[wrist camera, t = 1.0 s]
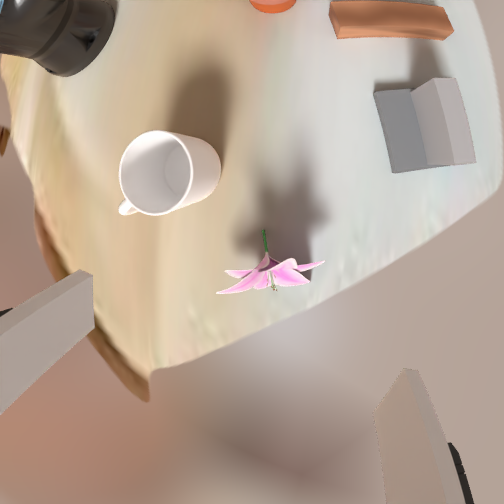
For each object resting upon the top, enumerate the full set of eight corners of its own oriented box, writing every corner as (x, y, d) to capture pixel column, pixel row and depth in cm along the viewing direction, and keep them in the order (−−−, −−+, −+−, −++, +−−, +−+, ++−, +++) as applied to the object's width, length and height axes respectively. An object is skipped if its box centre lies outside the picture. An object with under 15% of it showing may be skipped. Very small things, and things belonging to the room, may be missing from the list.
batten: (328, 16, 26) (330, 1, 22) (432, 18, 23) (443, 7, 19) (337, 39, 27) (340, 26, 23) (442, 41, 24) (454, 31, 20)
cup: (235, 176, 34) (210, 180, 25) (166, 230, 38) (125, 251, 28) (198, 124, 33) (162, 112, 24) (133, 181, 37) (86, 189, 27)
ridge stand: (372, 94, 28) (393, 74, 20) (451, 89, 26) (483, 75, 18) (392, 172, 31) (418, 175, 23) (468, 162, 28) (504, 164, 20)
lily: (213, 269, 40) (214, 328, 33) (221, 195, 32) (222, 254, 25) (297, 272, 42) (312, 328, 35) (321, 204, 34) (348, 260, 27)
